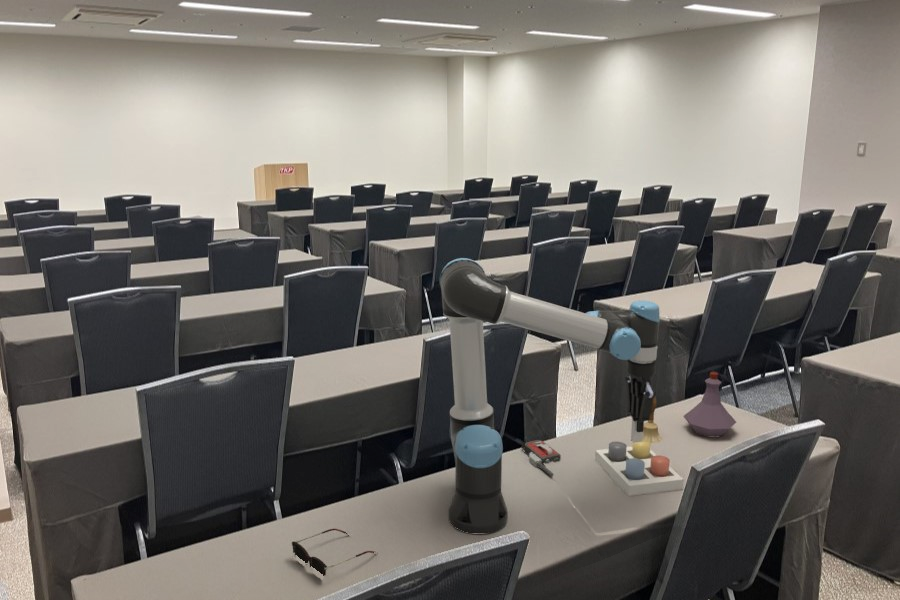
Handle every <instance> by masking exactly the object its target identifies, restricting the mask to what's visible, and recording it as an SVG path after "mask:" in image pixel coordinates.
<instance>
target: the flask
mask: <svg viewBox="0 0 900 600" xmlns="http://www.w3.org/2000/svg"><path fill="white" fill-rule="evenodd" d="M718 376H719V373H718V372H716V371H711V372H709V378H706V379H705V380H704V382H705V384H706V385H705V386H706V388H705V392H704V394H703V397H702V399H701V401H700V402H698V403H697V405H695V406H694V407H693V408H692V409H690V410H689V411H688V412H686V413H685V414H684V415H683V419H685V421H686V422H687V423H688V425H689V426H690V427H691V428H692V430H693V429H694V430H695V431H696V432H695V431H694V430H693V431H694V432H695V433H696V434H697V433H698V434H697V435H699V434H701V435H700V436H702V435H705V436H704V437H706V436H720V437H721V436H723V435H724V434H725V433H726V432H728V430H730V428H732V427H733V426H734V425H735V424H736V423H737V420H736V419H735V418H734V417H733V416H732V415H731V414H730V413H729V412H728V410H727V409H726V408H725V406H724V405H723V403H722V401H721V396H720V385H721V384H722V381H721V380H719V379H718Z"/></svg>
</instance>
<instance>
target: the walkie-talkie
mask: <svg viewBox="0 0 900 600" xmlns="http://www.w3.org/2000/svg"><path fill="white" fill-rule="evenodd" d="M521 450H523V451H524V452H525V454H526V455H528V461H529V463H531V465H533V467H534V468H540V469H541V470H543V471H544V472H545V473H546V474H548V475H549V476H550V477H554V475H555V474H554V473H553V472H552V471H551V470H549V468H547V467H546V465H545V464H546V463H548V464H549V463H550V462H553V463H557V462H560V460H561V458H562V457H561V454H560V453H559V452H557V451H556V450H555V449H554V448H552V447H551V446H550V445H549V444H547V443H546V442H544V440H540V439H535V440H532V441H527V442H525V443H524V445H521Z"/></svg>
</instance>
